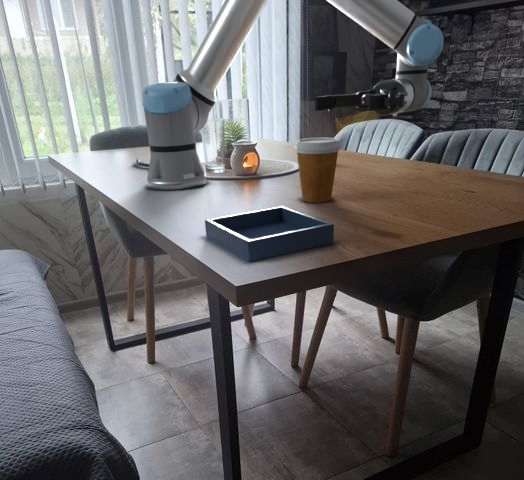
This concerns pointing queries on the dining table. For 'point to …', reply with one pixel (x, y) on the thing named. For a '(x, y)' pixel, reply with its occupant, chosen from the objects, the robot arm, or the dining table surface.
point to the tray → (268, 232)
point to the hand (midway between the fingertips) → (342, 103)
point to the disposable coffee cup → (317, 167)
